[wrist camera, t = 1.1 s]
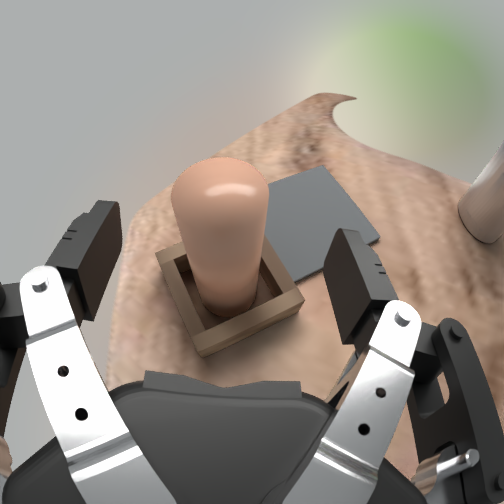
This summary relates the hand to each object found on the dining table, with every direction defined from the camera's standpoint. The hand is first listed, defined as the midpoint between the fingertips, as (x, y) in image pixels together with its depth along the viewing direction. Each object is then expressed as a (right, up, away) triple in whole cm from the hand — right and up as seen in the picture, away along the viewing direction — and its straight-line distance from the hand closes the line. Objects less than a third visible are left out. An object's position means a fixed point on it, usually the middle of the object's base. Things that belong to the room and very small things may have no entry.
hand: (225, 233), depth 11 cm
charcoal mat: (+8, +4, +26) cm, 28 cm away
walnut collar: (-2, -5, +21) cm, 22 cm away
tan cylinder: (-2, -4, +22) cm, 22 cm away
